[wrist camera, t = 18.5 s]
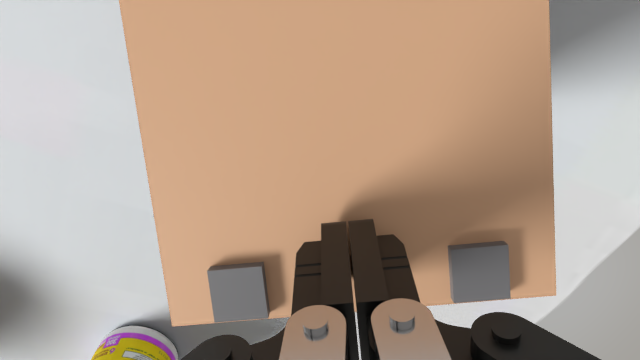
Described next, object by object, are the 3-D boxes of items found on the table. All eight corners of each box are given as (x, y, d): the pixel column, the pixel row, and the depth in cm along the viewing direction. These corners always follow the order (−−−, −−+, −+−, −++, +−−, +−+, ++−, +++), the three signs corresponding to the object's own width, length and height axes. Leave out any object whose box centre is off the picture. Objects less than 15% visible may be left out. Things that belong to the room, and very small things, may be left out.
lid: (111, -155, 13) (81, -189, 12) (524, -211, 13) (550, -254, 11) (184, 309, 16) (167, 332, 14) (538, 280, 15) (562, 301, 14)
